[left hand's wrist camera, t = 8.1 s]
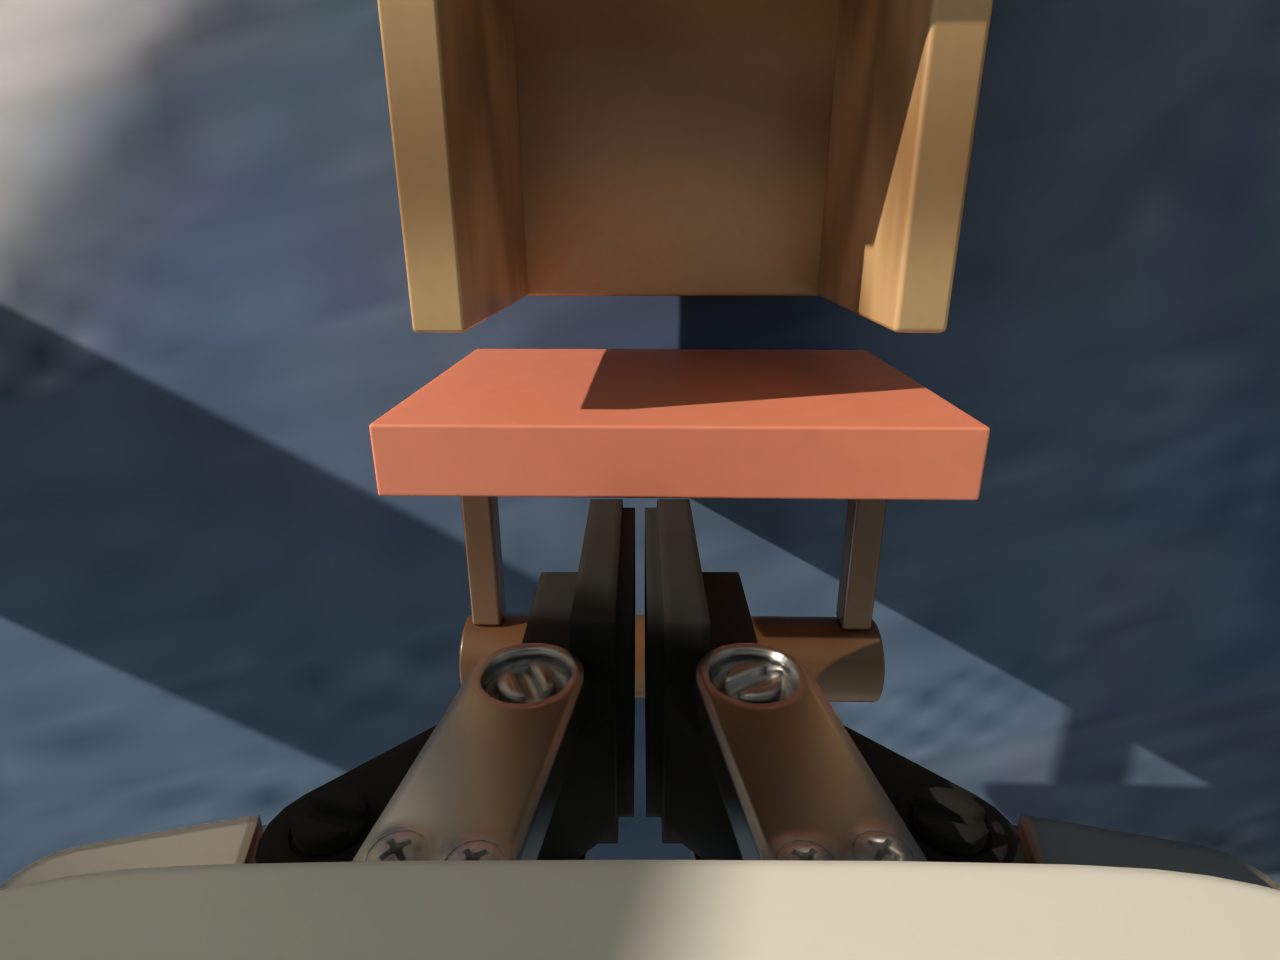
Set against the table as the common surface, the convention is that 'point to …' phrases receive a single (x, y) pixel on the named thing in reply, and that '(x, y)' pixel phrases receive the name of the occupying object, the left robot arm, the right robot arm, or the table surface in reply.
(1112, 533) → the table surface
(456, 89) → the drawer
